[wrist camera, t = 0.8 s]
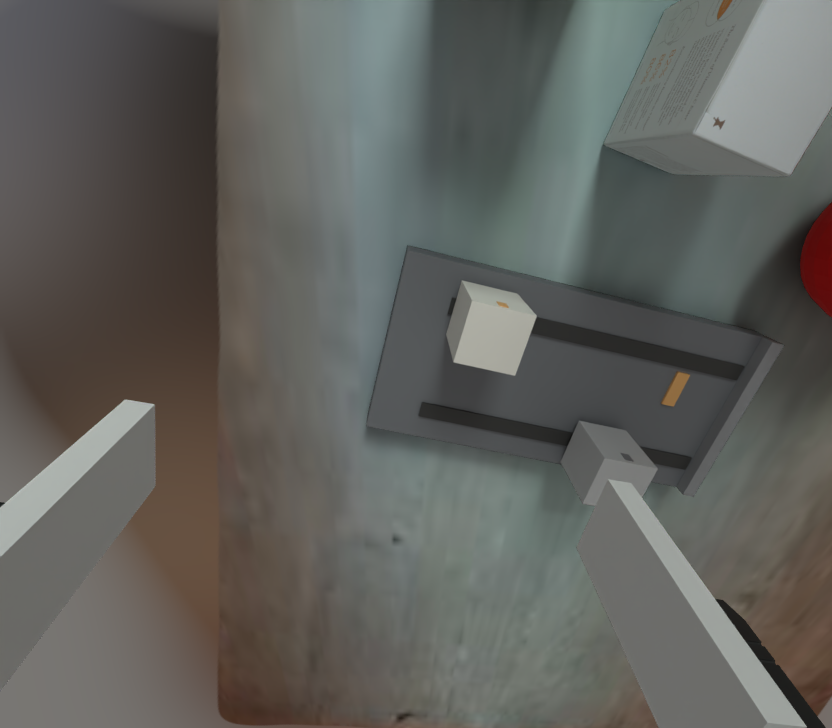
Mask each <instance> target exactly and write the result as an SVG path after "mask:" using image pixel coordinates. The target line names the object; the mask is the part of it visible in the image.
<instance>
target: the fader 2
mask: <svg viewBox="0 0 832 728" xmlns="http://www.w3.org/2000/svg"><path fill="white" fill-rule="evenodd" d="M561 464H562V466H563V468H564V470H565V471H566V473H567V475H568V477H569V479H570V481H571V483H572V485H573V487H574V489H575V490H576V492H577V494H578V496H579V498H580V500H581V502H582V504H586V505H592V506H596V504H597V502H598V499H599V497H600V495H601V493H602V491H603V488H604V486H605V484H606V482H607V480H608V479H610V480H616V481H622V482H628V483H632V485H633V486H634V488H635V489H636V490H637V492H638V493H639V494H640V496H641V497H643V495H644V493H645V492H646V490H647V488H648V486H649V484H650V482H651V481H652V479H653V477H654V475H655V473H656V471H657V470H658V468H657V467H656V466H655V465H654V463H653V462H652V461H651V460H650V459H649V457H648V456H647V455H646V454H645V453H644V451H643V450H642V449H641V448H640V447H639V445H638V444H637V443H636V442H635V441H634V439H633V438H632V437H631V436H630V435H629V433H628V432H627V431H626V430H622V429H617V428H612V427H608V426H603V425H598V424H593V423H588V422H584V421H579V422H578V424H577V426H576V428H575V431H574V433H573V435H572V437H571V440H570V442H569V444H568V446H567V449H566V451H565V453H564V455H563V458H562V460H561Z"/></svg>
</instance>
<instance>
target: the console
mask: <svg viewBox="0 0 832 728" xmlns="http://www.w3.org/2000/svg"><path fill="white" fill-rule="evenodd" d="M462 280H463V281H467V282H471V283H475V284H479V285H484V286H488V287H492V288H496V289H500V290H504V291H508V292H513V293H517V294H518V295H519V296H520V297H521V298H522V299H523V301H524V302H525V303H526V304H527V305H528V306H529V307H530V309H531V310H532V311H533V312H534V313H535V314H536V315H537V317H536V320H535V323H534V325H533V328H532V331H531V334H530V336H529V339H528V342H527V345H526V347H525V350H524V353H523V355H522V358H521V361H520V364H519V366H518V369H517V372H516V375H515V376H514V375H509V374H505V373H500V372H495V371H491V370H486V369H482V368H477V367H472V366H468V365H463V364H459V363H454V362H453V359H452V355H451V351H450V347H449V343H448V339H447V336H446V333H447V330H448V326H449V323H450V319H451V316H452V313H453V309H454V306H455V302H456V299H457V295H458V292H459V288H460V285H461V281H462ZM783 347H784V345H783V344H781V343H779V342H777V341H775V340H773V339H771V338H769V337H767V336H764V335H762V334H760V333H758V332H756V331H753V330H749V329H745V328H741V327H736V326H732V325H728V324H724V323H720V322H716V321H712V320H708V319H704V318H700V317H696V316H692V315H688V314H684V313H680V312H676V311H672V310H668V309H664V308H659V307H655V306H651V305H647V304H643V303H639V302H635V301H631V300H627V299H623V298H619V297H615V296H611V295H607V294H603V293H599V292H595V291H591V290H586V289H582V288H578V287H574V286H570V285H566V284H562V283H558V282H554V281H550V280H546V279H542V278H538V277H534V276H530V275H526V274H522V273H518V272H514V271H509V270H505V269H501V268H497V267H493V266H489V265H485V264H481V263H477V262H473V261H469V260H465V259H461V258H457V257H453V256H449V255H445V254H441V253H437V252H432V251H428V250H424V249H420V248H416V247H412V246H408V245H407V249H406V254H405V258H404V262H403V266H402V271H401V275H400V279H399V283H398V288H397V292H396V296H395V300H394V305H393V309H392V313H391V317H390V322H389V326H388V330H387V334H386V339H385V343H384V347H383V351H382V356H381V360H380V364H379V368H378V372H377V377H376V381H375V385H374V389H373V394H372V398H371V402H370V406H369V411H368V416H367V424H366V426H368V427H373V428H378V429H383V430H388V431H393V432H398V433H404V434H409V435H414V436H419V437H424V438H429V439H434V440H439V441H444V442H450V443H455V444H460V445H465V446H470V447H475V448H480V449H485V450H490V451H496V452H501V453H506V454H511V455H516V456H521V457H526V458H531V459H536V460H542V461H547V462H552V463H557V464H561V460H562V458H563V455H564V453H565V451H566V449H567V446H568V444H569V442H570V440H571V437H572V435H573V433H574V431H575V428H576V426H577V424H578V422H579V421H584V422H588V423H593V424H598V425H603V426H608V427H612V428H617V429H622V430H626V431H627V432H628V433H629V435H630V436H631V437H632V438H633V439H634V441H635V442H636V443H637V444H638V445H639V447H640V448H641V449H642V450H643V451H644V453H645V454H646V455H647V456H648V457H649V459H650V460H651V461H652V462H653V463H654V465H655V466H656V467H657V468H658V470H657V471H656V473H655V475H654V477H653V479H652V481H651V482H654V483H659V484H664V485H669V486H675V487H677V488H678V489H679V490H680V492H681V493H682V494H683V495H688V496H693V497H694V495H695V494H696V492H697V490H698V489H699V487H700V485H701V484H702V482H703V480H704V479H705V477H706V475H707V474H708V472H709V470H710V469H711V467H712V465H713V464H714V462H715V460H716V459H717V457H718V455H719V454H720V452H721V450H722V449H723V447H724V445H725V444H726V442H727V440H728V439H729V437H730V435H731V434H732V432H733V430H734V429H735V427H736V425H737V424H738V422H739V420H740V419H741V417H742V415H743V414H744V412H745V410H746V409H747V407H748V405H749V404H750V402H751V400H752V399H753V397H754V395H755V394H756V392H757V390H758V389H759V387H760V385H761V384H762V382H763V380H764V379H765V377H766V375H767V374H768V372H769V370H770V369H771V367H772V365H773V364H774V362H775V360H776V359H777V357H778V355H779V354H780V352H781V350H782V349H783Z"/></svg>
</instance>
